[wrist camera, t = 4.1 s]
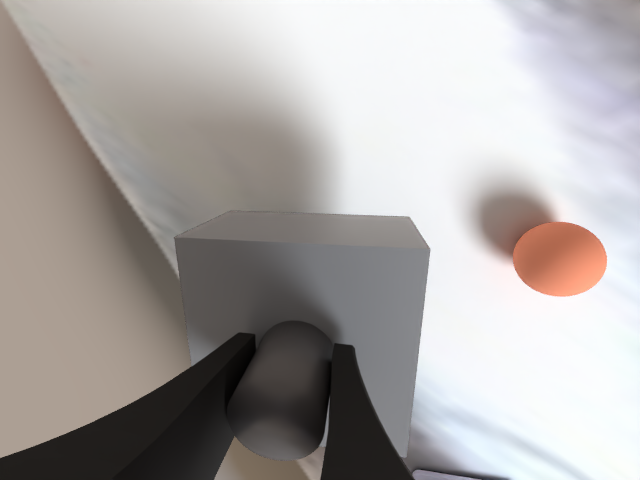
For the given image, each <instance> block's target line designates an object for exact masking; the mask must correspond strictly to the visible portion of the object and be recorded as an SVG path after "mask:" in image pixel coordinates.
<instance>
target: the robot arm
mask: <svg viewBox="0 0 640 480" xmlns="http://www.w3.org/2000/svg"><path fill="white" fill-rule="evenodd" d="M255 352H256V340H255V334H251V333H242V332H239V333H237V334H236V335H234V336H233V337H231V338H230V339H229V340H227V341H226V342H225V343H223V344H222V345H221V346H219V347H218V348H217V349H215V350H214V351H213V352H211V353H210V354H208V355H207V356H206V357H204V358H203V359H202V360H200V361H199V362H197V363H196V364H195V365H193V366H192V367H190V368H189V369H187V370H186V371H184V372H182V373H181V374H179V375H178V376H176V377H175V378H173V379H172V380H170V381H169V382H167V383H166V384H164V385H163V386H161V387H159V388H157V389H156V390H154V391H152V392H151V393H149V394H147V395H145V396H143V397H142V398H140V399H138V400H136V401H134V402H133V403H131V404H129V405H127V406H125V407H123V408H121V409H119V410H117V411H115V412H112V413H111V414H108V415H106V416H104V417H102V418H100V419H98V420H96V421H94V422H92V423H90V424H87V425H85V426H83V427H80V428H78V429H76V430H73V431H71V432H69V433H66V434H64V435H61V436H59V437H57V438H54V439H51V440H49V441H47V442H44V443H41V444H39V445H36V446H34V447H31V448H28V449H26V450H23V451H20V452H17V453H14V454H11V455H8V456H5V457H2V458H0V480H214V478H215V475H216V474H217V471H218V469H219V467H220V465H221V463H222V461H223V459H224V457H225V455H226V452H227V451H228V449H229V446H230V444H231V442H232V440H233V438H234V436H235V435H234V434H233V432H232V430H231V428H230V426H229V423H228V419H227V407H228V403H229V401H230V399H231V397H232V395H233V393H234V391H235V389H236V388H237V386H238V384H239V382H240V380H241V378H242V376H243V374H244V373H245V371H246V369H247V367H248V365H249V363H250V361H251V359H252V358H253V356H254V354H255ZM321 480H480V479H474V478H468V477H462V476H455V475H449V474H443V473H437V472H430V471H424V470H415V471H414V472H413V474H411V473H410V471H409V470H408V468H407V467H406V465H405V464H404V462H403V461H402V459H401V457H400V456H399V454H398V452H397V451H396V449H395V447H394V446H393V444H392V442H391V440H390V438H389V437H388V435H387V433H386V431H385V429H384V427H383V425H382V423H381V421H380V419H379V417H378V415H377V413H376V411H375V409H374V406H373V404H372V402H371V400H370V397H369V395H368V392H367V390H366V387H365V384H364V382H363V379H362V376H361V373H360V370H359V366H358V363H357V358H356V353H355V348H354V346H353V345H347V344H338V343H335V344H334V348H333V353H332V365H331V384H330V402H329V422H328V435H327V441H326V448H325V455H324V461H323V468H322V474H321Z"/></svg>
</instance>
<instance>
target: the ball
mask: <svg viewBox="0 0 640 480" xmlns="http://www.w3.org/2000/svg"><path fill="white" fill-rule="evenodd" d="M513 263H514V267H515V270H516V272H517V274H518V276H519V277H520V278H521V279H522V281H523V282H524V283H525V284H527V285H528V286H529V287H531V288H532V289H534V290H536V291H538V292H541V293H543V294H547V295H551V296H572V295H576V294H580V293H583V292H585V291H587V290H589V289H590V288H592V287H593V286H594V285H596V284H597V283H598V282H599V280H600V279H601V278H602V276H603V274H604V272H605V270H606V265H607V256H606V252H605V249H604V247H603V245H602V243H601V242H600V240H599V239H598V238H597V237H596V236H595V235H594V234H593V233H591V232H590V231H589V230H587V229H585V228H583V227H581V226H578V225H575V224H572V223H567V222H550V223H545V224H541V225H538V226H536V227H534V228H532V229H530V230H528V231H527V232H526V233H525V234H524V235H523V236H522V237H521V238H520V239H519V240H518V242H517V244H516V246H515V249H514V252H513Z"/></svg>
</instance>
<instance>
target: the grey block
mask: <svg viewBox="0 0 640 480" xmlns="http://www.w3.org/2000/svg"><path fill="white" fill-rule="evenodd" d="M174 239H175V247H176V254H177V262H178V269H179V277H180V284H181V291H182V299H183V306H184V314H185V320H186V328H187V336H188V344H189V351H190V358H191V366H193V365H195V364H196V363H197V362H199V361H200V360H202V359H203V358H204V357H206V356H207V355H208V354H210V353H211V352H213V351H214V350H215V349H217V348H218V347H219V346H221V345H222V344H223V343H225V342H226V341H227V340H229V339H230V338H231V337H233V336H234V335H236V334H237V333H239V332H242V333H251V334H255V340H256V352H255V354H254V356H253V358H252V359H251V361H250V363H249V365H248V367H247V369H246V371H245V373H244V374H243V376H242V378H241V380H240V382H239V384H238V386H237V388H236V389H235V391H234V393H233V395H232V397H231V399H230V401H229V403H228V407H227V419H228V423H229V426H230V428H231V430H232V432H233V434H234V435H235V437H236V438H237V439H238V440H239V441H240V442H241V443H242V444H243V445H244V446H245V447H246V448H248V449H249V450H251V451H252V452H254V453H256V454H258V455H260V456H263V457H265V458H269V459H273V460H280V461H290V460H297V459H301V458H303V457H306V456H308V455H309V454H311V453H312V452H314V451H315V450H316V449H317V448H318V447H319V446H321V447H326V441H327V435H328V422H329V402H330V384H331V365H332V353H333V348H334V344H335V343H338V344H347V345H353V346H354V348H355V353H356V358H357V363H358V366H359V370H360V373H361V376H362V379H363V382H364V384H365V387H366V390H367V392H368V395H369V397H370V400H371V402H372V404H373V406H374V409H375V411H376V413H377V415H378V417H379V419H380V421H381V423H382V425H383V427H384V429H385V431H386V433H387V435H388V437H389V438H390V440H391V442H392V444H393V446H394V447H395V449H396V451H397V452H398V454H399V456H400V457H404V458H407V451H408V442H409V433H410V425H411V416H412V407H413V398H414V389H415V380H416V371H417V363H418V354H419V345H420V336H421V327H422V318H423V310H424V301H425V292H426V283H427V274H428V265H429V256H430V248H429V246H428V245H427V243H426V242H425V240H424V239H423V237H422V236H421V234H420V232H419V231H418V229H417V228H416V226H415V225H414V223H413V222H412V220H411V218H410V217H404V216H374V215H345V214H315V213H285V212H256V211H229V212H227V213H225V214H223V215H220V216H218V217H216V218H214V219H212V220H210V221H208V222H206V223H203V224H201V225H199V226H197V227H195V228H193V229H191V230H189V231H186V232H184V233H182V234H180V235H178V236H176V237H174Z"/></svg>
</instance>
